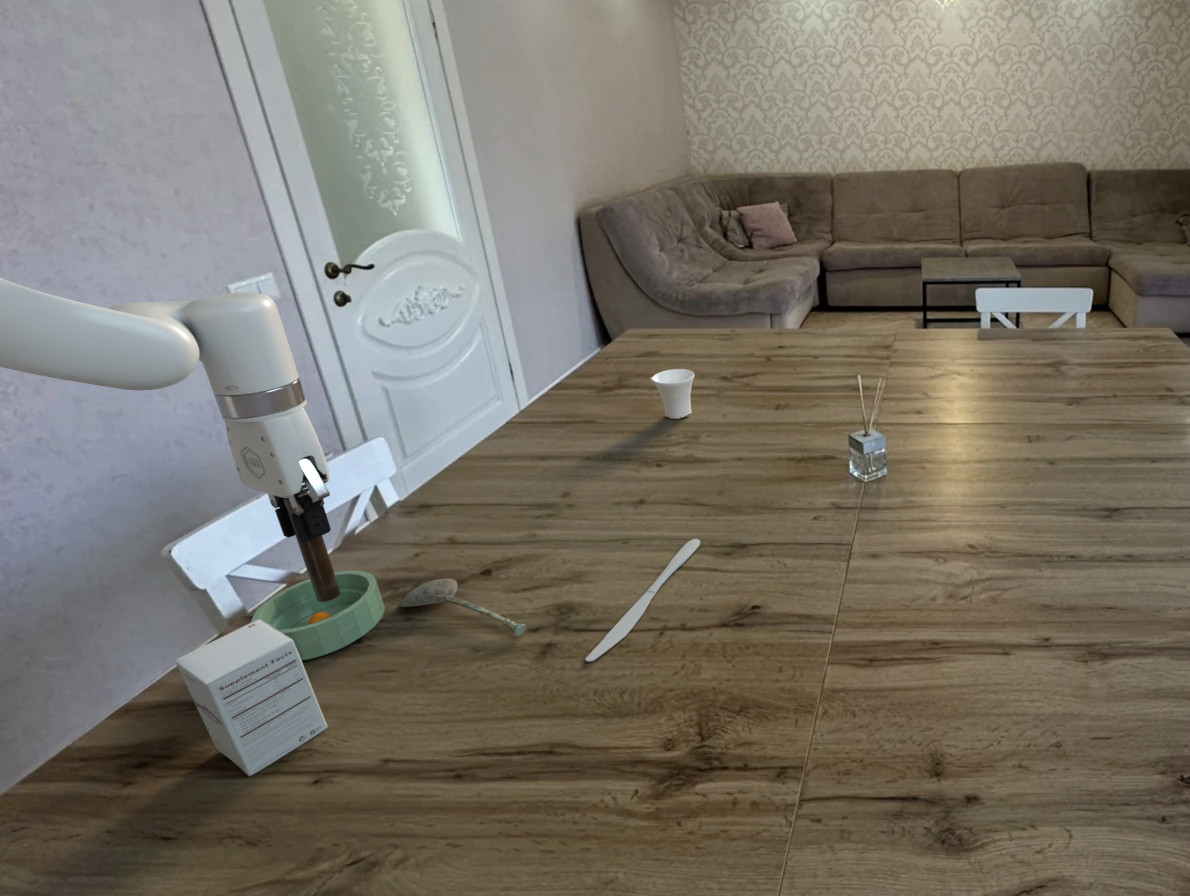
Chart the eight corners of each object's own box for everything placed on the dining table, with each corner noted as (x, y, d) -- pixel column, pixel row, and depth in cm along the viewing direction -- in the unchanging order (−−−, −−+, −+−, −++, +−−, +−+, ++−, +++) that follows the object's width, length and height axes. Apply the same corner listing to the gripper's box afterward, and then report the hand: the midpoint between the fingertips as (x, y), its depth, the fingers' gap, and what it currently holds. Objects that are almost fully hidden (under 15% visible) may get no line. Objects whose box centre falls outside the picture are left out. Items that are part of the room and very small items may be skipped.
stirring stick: (315, 604, 92) (280, 501, 86) (319, 594, 93) (285, 493, 88) (338, 598, 93) (305, 497, 88) (342, 588, 95) (310, 488, 90)
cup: (656, 411, 162) (650, 370, 159) (699, 406, 165) (694, 365, 161) (655, 427, 154) (648, 384, 151) (699, 421, 157) (694, 379, 153)
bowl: (251, 679, 86) (237, 646, 85) (279, 618, 97) (267, 587, 95) (377, 644, 92) (366, 612, 90) (391, 589, 102) (382, 560, 101)
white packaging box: (215, 752, 77) (171, 659, 72) (297, 704, 83) (261, 615, 78) (247, 780, 73) (203, 684, 69) (330, 728, 80) (294, 637, 75)
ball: (302, 621, 92) (312, 637, 92) (324, 611, 93) (334, 626, 93) (307, 616, 94) (316, 631, 94) (328, 606, 95) (337, 621, 95)
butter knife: (707, 540, 113) (690, 536, 113) (600, 663, 88) (578, 659, 89) (707, 543, 113) (690, 539, 113) (600, 667, 88) (579, 662, 89)
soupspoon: (439, 584, 105) (393, 613, 99) (432, 565, 103) (385, 593, 98) (543, 620, 96) (499, 654, 90) (537, 600, 95) (491, 633, 89)
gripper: (182, 400, 83) (234, 536, 89) (266, 421, 77) (315, 565, 84) (259, 379, 90) (302, 507, 96) (341, 397, 84) (381, 532, 90)
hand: (307, 533), depth 90 cm, fingers closed on stirring stick, 2 cm apart
